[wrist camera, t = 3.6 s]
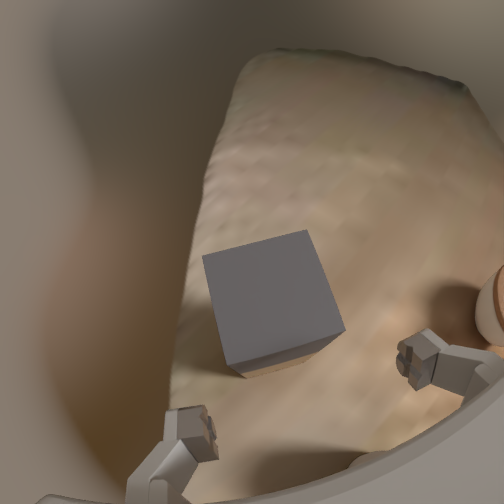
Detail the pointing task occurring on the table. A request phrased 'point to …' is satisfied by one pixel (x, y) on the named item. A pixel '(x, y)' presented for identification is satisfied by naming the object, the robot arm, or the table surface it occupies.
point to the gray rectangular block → (271, 301)
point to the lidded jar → (491, 309)
